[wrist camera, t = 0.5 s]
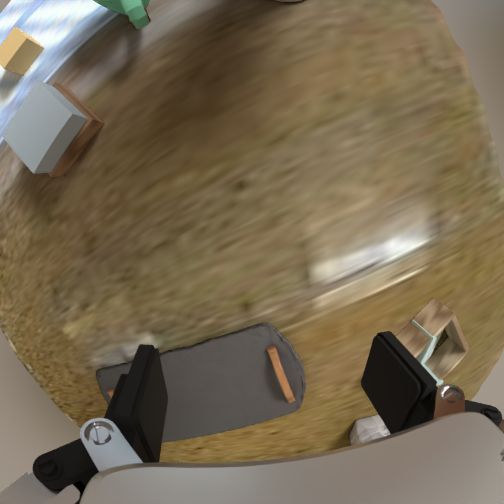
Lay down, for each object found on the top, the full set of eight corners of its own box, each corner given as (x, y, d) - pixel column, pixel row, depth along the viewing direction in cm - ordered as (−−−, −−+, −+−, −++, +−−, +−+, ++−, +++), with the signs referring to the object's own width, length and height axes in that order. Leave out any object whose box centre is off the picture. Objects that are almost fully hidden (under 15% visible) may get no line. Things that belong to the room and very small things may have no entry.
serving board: (145, 436, 51) (142, 456, 46) (86, 363, 45) (75, 383, 39) (311, 396, 52) (320, 417, 46) (282, 305, 45) (291, 325, 39)
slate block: (54, 87, 27) (37, 80, 23) (88, 118, 29) (72, 113, 25) (20, 137, 28) (2, 136, 24) (51, 172, 31) (33, 173, 26)
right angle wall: (424, 366, 53) (441, 384, 46) (388, 368, 51) (405, 389, 44) (446, 322, 50) (467, 337, 43) (412, 319, 48) (433, 338, 41)
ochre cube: (31, 36, 26) (15, 26, 20) (44, 48, 27) (26, 38, 22) (11, 62, 27) (-7, 55, 21) (22, 75, 28) (3, 68, 22)
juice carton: (352, 417, 55) (396, 505, 30) (389, 408, 56) (437, 485, 31) (343, 438, 58) (379, 520, 32) (378, 430, 59) (418, 503, 33)
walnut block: (69, 89, 31) (55, 82, 27) (105, 123, 34) (92, 119, 30) (33, 139, 32) (17, 137, 28) (65, 175, 35) (50, 177, 31)
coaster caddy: (432, 297, 48) (453, 312, 41) (452, 335, 52) (469, 350, 46) (377, 354, 50) (393, 374, 43) (404, 383, 54) (419, 401, 48)
